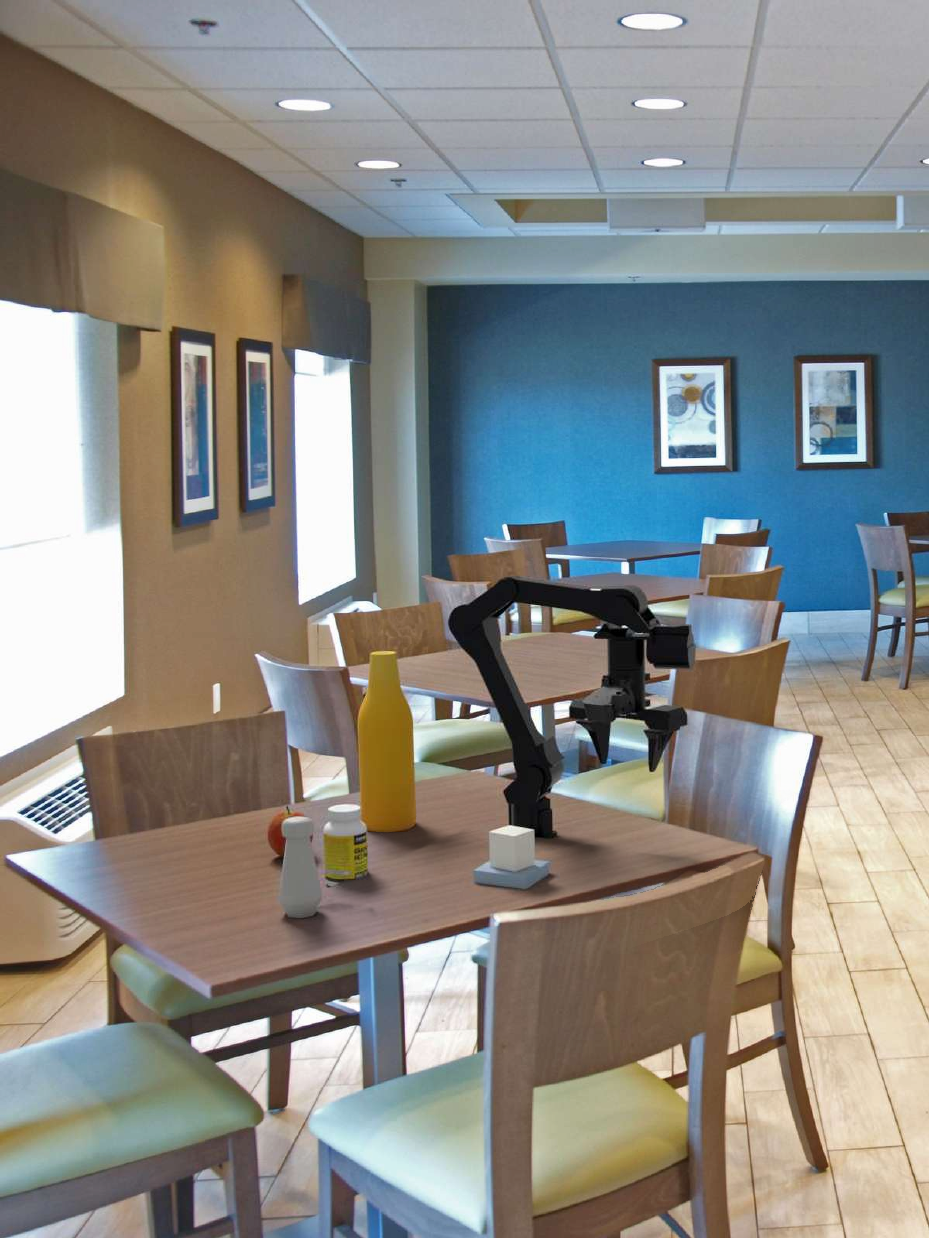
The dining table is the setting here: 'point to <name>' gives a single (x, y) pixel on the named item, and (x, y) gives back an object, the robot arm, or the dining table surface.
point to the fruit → (280, 831)
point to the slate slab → (512, 875)
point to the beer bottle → (386, 750)
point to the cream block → (512, 848)
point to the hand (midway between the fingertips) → (627, 767)
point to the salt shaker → (299, 870)
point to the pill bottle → (345, 845)
